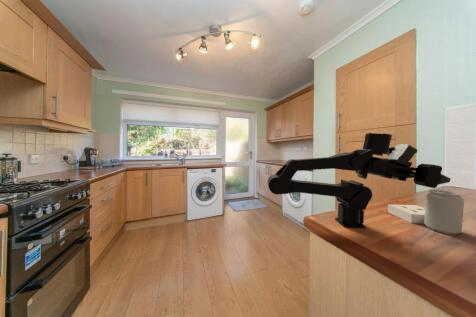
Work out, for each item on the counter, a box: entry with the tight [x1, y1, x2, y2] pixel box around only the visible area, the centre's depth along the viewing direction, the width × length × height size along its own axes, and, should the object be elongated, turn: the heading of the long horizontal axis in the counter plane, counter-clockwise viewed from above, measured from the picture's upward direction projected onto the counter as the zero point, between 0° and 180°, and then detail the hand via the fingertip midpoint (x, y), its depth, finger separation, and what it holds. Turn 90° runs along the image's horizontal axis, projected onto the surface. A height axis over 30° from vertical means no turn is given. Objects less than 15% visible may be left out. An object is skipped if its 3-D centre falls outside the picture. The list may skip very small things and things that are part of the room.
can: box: [423, 189, 465, 235], centre depth 53 cm, size 8×8×12 cm
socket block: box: [387, 204, 425, 224], centre depth 63 cm, size 10×10×3 cm
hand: (433, 177), depth 55 cm, fingers open, 9 cm apart
